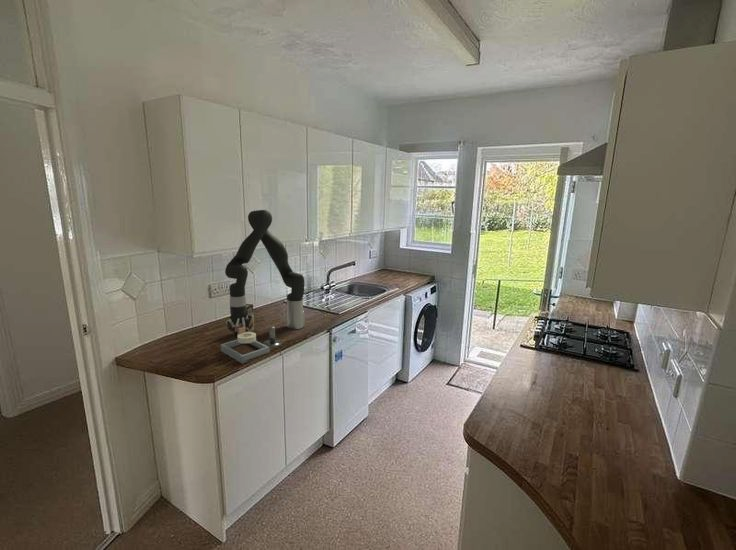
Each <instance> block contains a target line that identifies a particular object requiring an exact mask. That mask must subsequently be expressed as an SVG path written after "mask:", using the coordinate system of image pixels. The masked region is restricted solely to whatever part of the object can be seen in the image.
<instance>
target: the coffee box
mask: <svg viewBox="0 0 736 550" xmlns="http://www.w3.org/2000/svg"><path fill="white" fill-rule="evenodd" d="M246 314H247V315H250V316H252V318H251V321H250V324H249V327H247V328H246V329H245V331H246V332H253V331H254V330H255V322H254V321H255V319H254V318H255V317H254V315H255V314H254V304H252V303H251V304H250V303H246ZM245 321H246V319H245ZM238 325H240V324H238Z"/></svg>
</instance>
